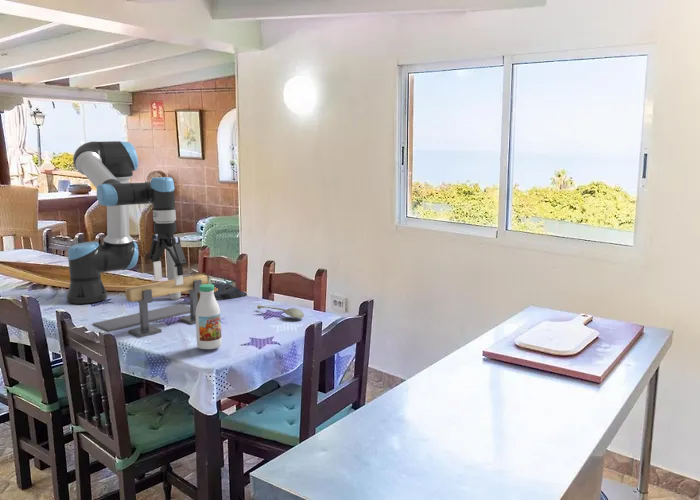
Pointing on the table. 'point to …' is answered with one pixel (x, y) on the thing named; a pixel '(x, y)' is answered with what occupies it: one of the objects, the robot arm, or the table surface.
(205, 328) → the milk bottle
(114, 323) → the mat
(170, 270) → the tube
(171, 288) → the hang bar
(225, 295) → the dark slate chunk
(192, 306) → the standards
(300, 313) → the soupspoon
